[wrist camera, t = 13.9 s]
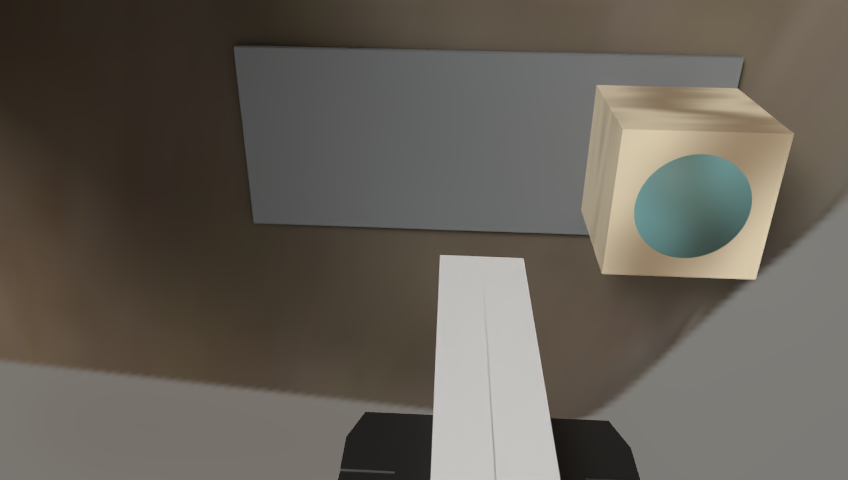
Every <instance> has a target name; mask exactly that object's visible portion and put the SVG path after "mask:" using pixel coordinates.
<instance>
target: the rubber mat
mask: <svg viewBox="0 0 848 480" xmlns="http://www.w3.org/2000/svg"><path fill="white" fill-rule="evenodd" d="M234 56H235V65H236V73H237V82H238V91H239V100H240V108H241V117H242V126H243V134H244V143H245V152H246V161H247V169H248V178H249V187H250V195H251V204H252V213H253V222H254V223H263V224H292V225H321V226H349V227H378V228H407V229H436V230H465V231H493V232H522V233H551V234H580V235H589V233H588V230H587V227H586V224H585V221H584V218H583V214H582V211H581V207H582V199H583V191H584V183H585V175H586V167H587V159H588V150H589V142H590V134H591V126H592V118H593V110H594V102H595V93H596V85H619V86H660V87H701V88H738V84H739V79H740V74H741V70H742V65H743V60H744V58H743V57H741V56H701V55H655V54H610V53H564V52H518V51H473V50H427V49H381V48H336V47H290V46H245V45H236V46H234Z"/></svg>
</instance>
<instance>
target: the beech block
mask: <svg viewBox="0 0 848 480" xmlns="http://www.w3.org/2000/svg"><path fill="white" fill-rule="evenodd" d="M793 136H794V133H792V132H791V131H790V130H789V129H787V128H786V127H785V126H784V125H782V124H781V123H780V122H779V121H777V120H776V119H775V118H774V117H772V116H771V115H770V114H769V113H767V112H766V111H765V110H764V109H763V108H761V107H760V106H759V105H758V104H756V103H755V102H754V101H753V100H751V99H750V98H749V97H748V96H746V95H745V94H744V93H743V92H741V91H740V90H739V89H738V88H701V87H660V86H619V85H596V93H595V102H594V110H593V118H592V126H591V134H590V142H589V150H588V159H587V167H586V175H585V183H584V191H583V199H582V207H581V211H582V214H583V218H584V221H585V224H586V227H587V230H588V233H589V236H590V239H591V242H592V245H593V248H594V251H595V255H596V258H597V261H598V264H599V267H600V270H601V273H602V274H617V275H644V276H670V277H697V278H723V279H750V280H756V277H757V273H758V270H759V266H760V262H761V258H762V254H763V250H764V247H765V243H766V239H767V235H768V231H769V228H770V224H771V220H772V216H773V212H774V209H775V205H776V201H777V197H778V193H779V189H780V186H781V182H782V178H783V174H784V170H785V167H786V163H787V159H788V155H789V151H790V147H791V144H792V140H793Z"/></svg>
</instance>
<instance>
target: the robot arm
mask: <svg viewBox="0 0 848 480" xmlns="http://www.w3.org/2000/svg"><path fill="white" fill-rule="evenodd" d="M338 480H640V478H639V474H638V472H637V468H636V464H635V461H634V458H633V454H632V451H631V448H630V447H629V445H628V444H627V443H626V442H625V441H624V439H623V438H622V437H621V436H620V434H619V433H618V432H617V431H616V430H615V428H614V427H613V426H612V425H611V423H610V422H609V421H598V420H597V421H596V420H577V419H555V418H550V414H549V408H548V402H547V396H546V390H545V384H544V378H543V372H542V366H541V360H540V354H539V348H538V342H537V336H536V330H535V324H534V318H533V312H532V306H531V300H530V294H529V288H528V282H527V276H526V270H525V264H524V258H503V257H478V256H453V255H440V267H439V291H438V314H437V338H436V361H435V385H434V409H433V415H419V414H397V413H375V412H365V413H364V415H363V416H362V417H361V419H360V420H359V421H358V423H357V424H356V425H355V426H354V428H353V429H352V430H351V432H350V433H349V434H348V436H347V437H346V442H345V447H344V453H343V458H342V463H341V471H340V474H339V478H338Z"/></svg>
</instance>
